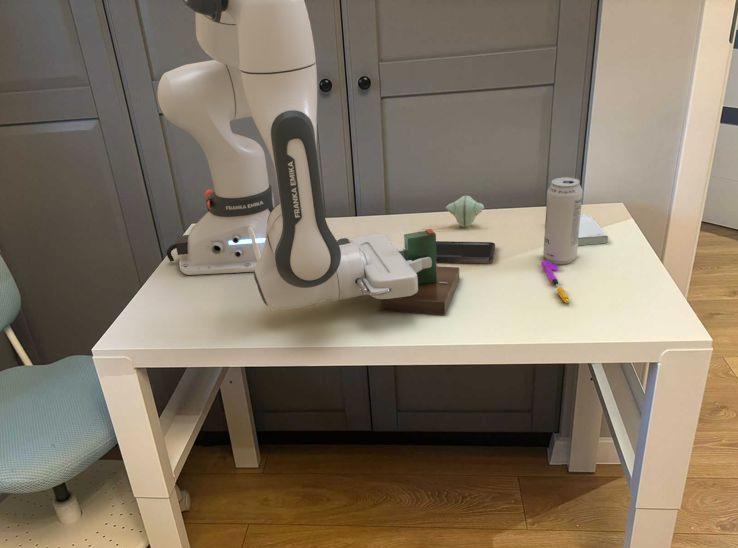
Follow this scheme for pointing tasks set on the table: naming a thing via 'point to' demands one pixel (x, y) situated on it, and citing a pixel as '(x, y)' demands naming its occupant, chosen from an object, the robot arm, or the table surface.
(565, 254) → the energy drink can
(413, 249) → the green tall block
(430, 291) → the dial panel
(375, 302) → the table surface
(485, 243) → the phone
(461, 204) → the mint green lobed ornament
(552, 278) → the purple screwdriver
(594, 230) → the hard drive
